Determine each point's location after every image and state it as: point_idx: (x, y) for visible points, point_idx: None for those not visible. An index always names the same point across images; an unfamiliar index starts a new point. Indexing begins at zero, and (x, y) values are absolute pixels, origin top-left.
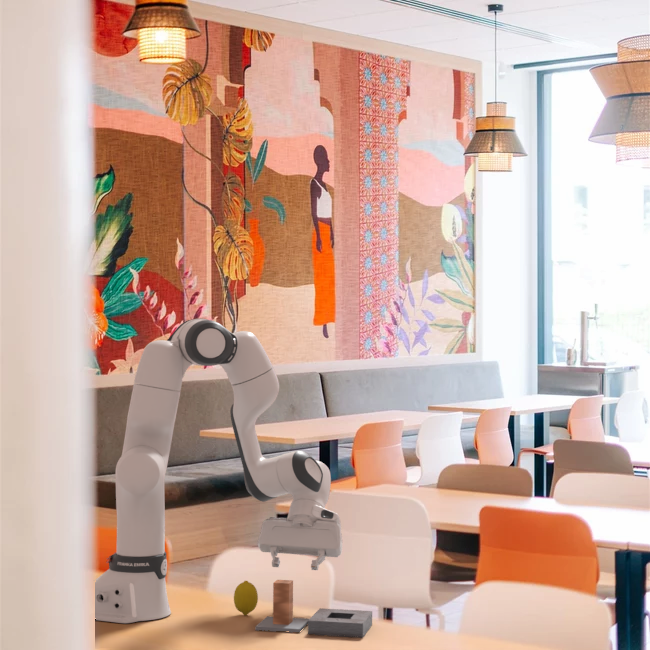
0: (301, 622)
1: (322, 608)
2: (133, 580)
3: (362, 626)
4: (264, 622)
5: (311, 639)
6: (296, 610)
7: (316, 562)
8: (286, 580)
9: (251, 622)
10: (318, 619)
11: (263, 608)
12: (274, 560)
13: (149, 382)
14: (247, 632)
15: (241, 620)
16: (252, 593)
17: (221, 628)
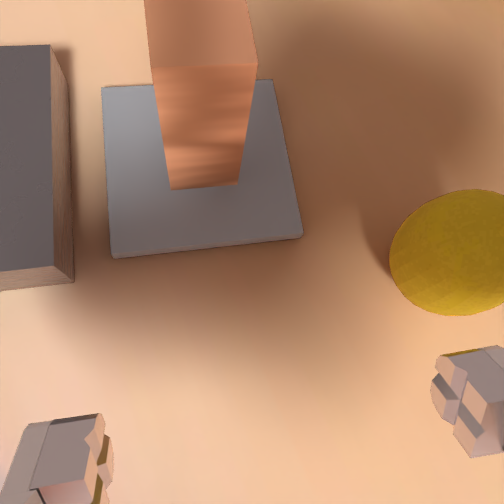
0: (127, 179)
1: (38, 266)
2: None
3: None
4: (268, 138)
5: (38, 36)
6: (256, 466)
7: (27, 457)
8: (193, 56)
9: (336, 183)
10: (8, 68)
11: (419, 439)
12: (497, 364)
13: None
14: (282, 60)
15: (385, 199)
16: (422, 215)
17: (385, 82)
